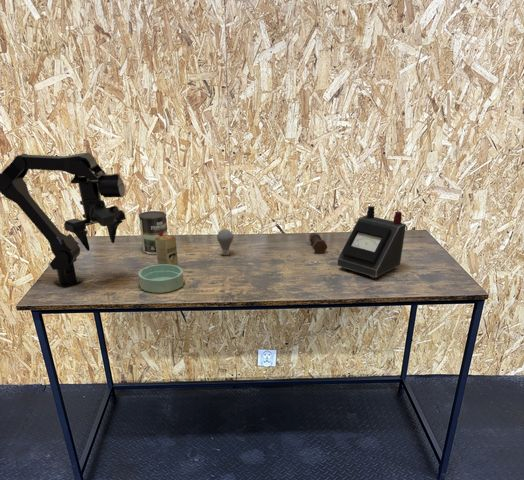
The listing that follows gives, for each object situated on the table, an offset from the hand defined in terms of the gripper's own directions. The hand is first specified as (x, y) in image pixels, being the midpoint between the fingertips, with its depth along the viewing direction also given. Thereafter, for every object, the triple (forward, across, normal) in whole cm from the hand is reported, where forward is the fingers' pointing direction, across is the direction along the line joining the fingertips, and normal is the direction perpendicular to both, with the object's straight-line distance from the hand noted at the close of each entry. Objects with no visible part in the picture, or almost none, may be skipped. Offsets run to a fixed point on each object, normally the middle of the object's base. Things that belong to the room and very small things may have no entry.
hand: (100, 246), depth 160 cm
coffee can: (+13, +32, +14) cm, 37 cm away
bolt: (+15, +76, -31) cm, 84 cm away
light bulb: (+14, +46, -10) cm, 49 cm away
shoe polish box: (+14, +21, -6) cm, 26 cm away
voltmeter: (+16, +69, -59) cm, 92 cm away
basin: (+13, +11, -14) cm, 23 cm away
